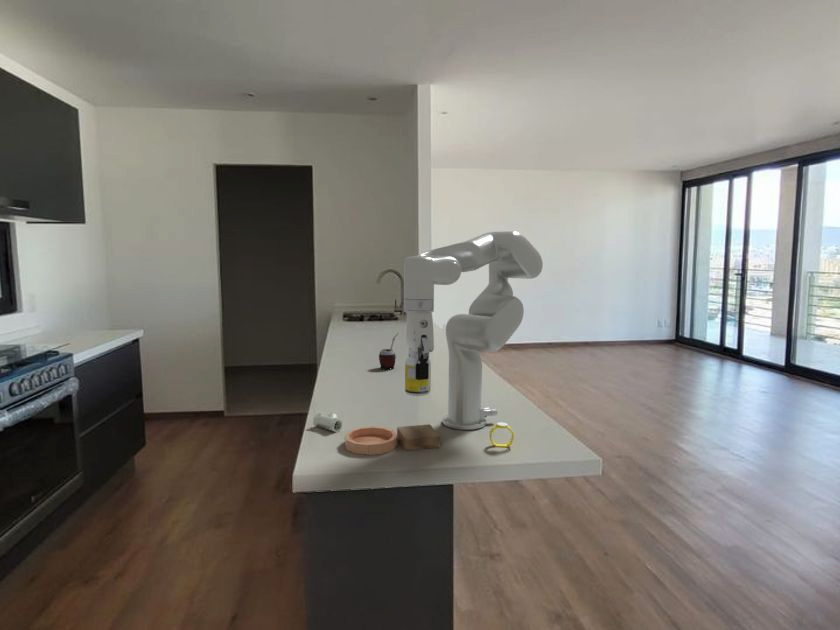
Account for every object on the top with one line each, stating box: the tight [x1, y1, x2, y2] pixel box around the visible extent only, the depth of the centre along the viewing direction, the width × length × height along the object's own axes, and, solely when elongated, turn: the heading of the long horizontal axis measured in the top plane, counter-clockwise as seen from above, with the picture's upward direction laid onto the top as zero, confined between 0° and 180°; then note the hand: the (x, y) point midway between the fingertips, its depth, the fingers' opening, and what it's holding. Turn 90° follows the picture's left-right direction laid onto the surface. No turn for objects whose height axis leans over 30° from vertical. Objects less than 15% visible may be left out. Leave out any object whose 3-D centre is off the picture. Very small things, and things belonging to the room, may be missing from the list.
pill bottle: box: [404, 347, 432, 397], centre depth 129 cm, size 6×6×12 cm
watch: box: [489, 421, 515, 448], centre depth 129 cm, size 6×3×6 cm, turn 86°
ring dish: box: [344, 426, 398, 456], centre depth 129 cm, size 13×13×2 cm
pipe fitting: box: [312, 412, 343, 433], centre depth 142 cm, size 8×4×7 cm
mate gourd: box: [378, 332, 399, 371], centre depth 216 cm, size 8×8×15 cm
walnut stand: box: [396, 423, 441, 452], centre depth 131 cm, size 9×9×3 cm
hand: (418, 375), depth 129 cm, fingers closed on pill bottle, 6 cm apart
